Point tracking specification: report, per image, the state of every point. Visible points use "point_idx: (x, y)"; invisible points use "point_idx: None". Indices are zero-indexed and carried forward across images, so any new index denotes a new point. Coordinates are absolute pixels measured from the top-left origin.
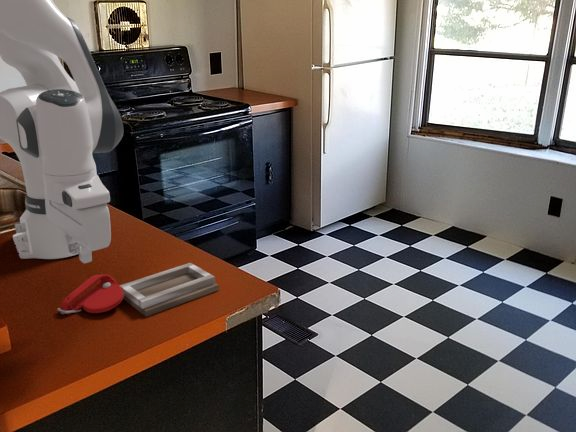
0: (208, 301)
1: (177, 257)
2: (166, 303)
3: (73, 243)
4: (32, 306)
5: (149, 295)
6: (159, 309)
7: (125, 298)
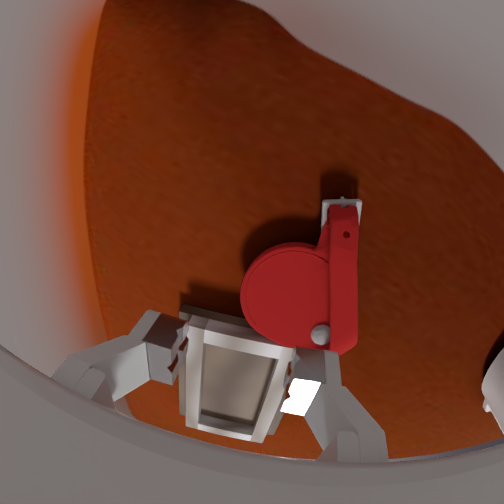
0: None
1: None
2: None
3: (311, 402)
4: (444, 188)
5: (203, 350)
6: None
7: None
